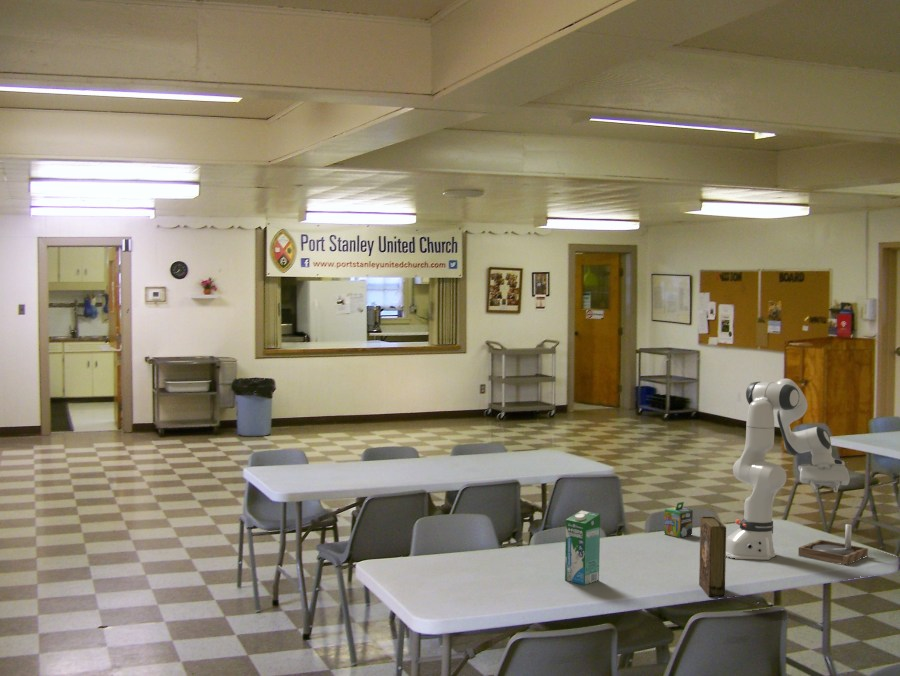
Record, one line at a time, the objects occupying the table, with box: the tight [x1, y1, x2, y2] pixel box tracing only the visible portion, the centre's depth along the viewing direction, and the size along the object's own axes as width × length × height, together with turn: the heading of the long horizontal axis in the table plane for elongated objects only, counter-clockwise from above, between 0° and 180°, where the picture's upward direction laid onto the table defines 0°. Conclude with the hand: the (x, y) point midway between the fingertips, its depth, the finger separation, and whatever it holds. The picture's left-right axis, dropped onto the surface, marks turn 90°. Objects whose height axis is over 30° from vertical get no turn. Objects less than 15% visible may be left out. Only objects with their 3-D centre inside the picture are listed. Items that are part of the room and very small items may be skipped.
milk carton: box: [564, 510, 601, 586], centre depth 363 cm, size 9×9×25 cm
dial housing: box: [798, 539, 869, 565], centre depth 403 cm, size 20×20×4 cm
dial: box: [812, 523, 854, 555], centre depth 403 cm, size 16×16×11 cm
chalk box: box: [663, 501, 694, 538], centre depth 438 cm, size 9×9×15 cm
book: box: [698, 516, 727, 597], centre depth 352 cm, size 16×6×25 cm, turn 179°
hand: (825, 491), depth 421 cm, fingers open, 7 cm apart
